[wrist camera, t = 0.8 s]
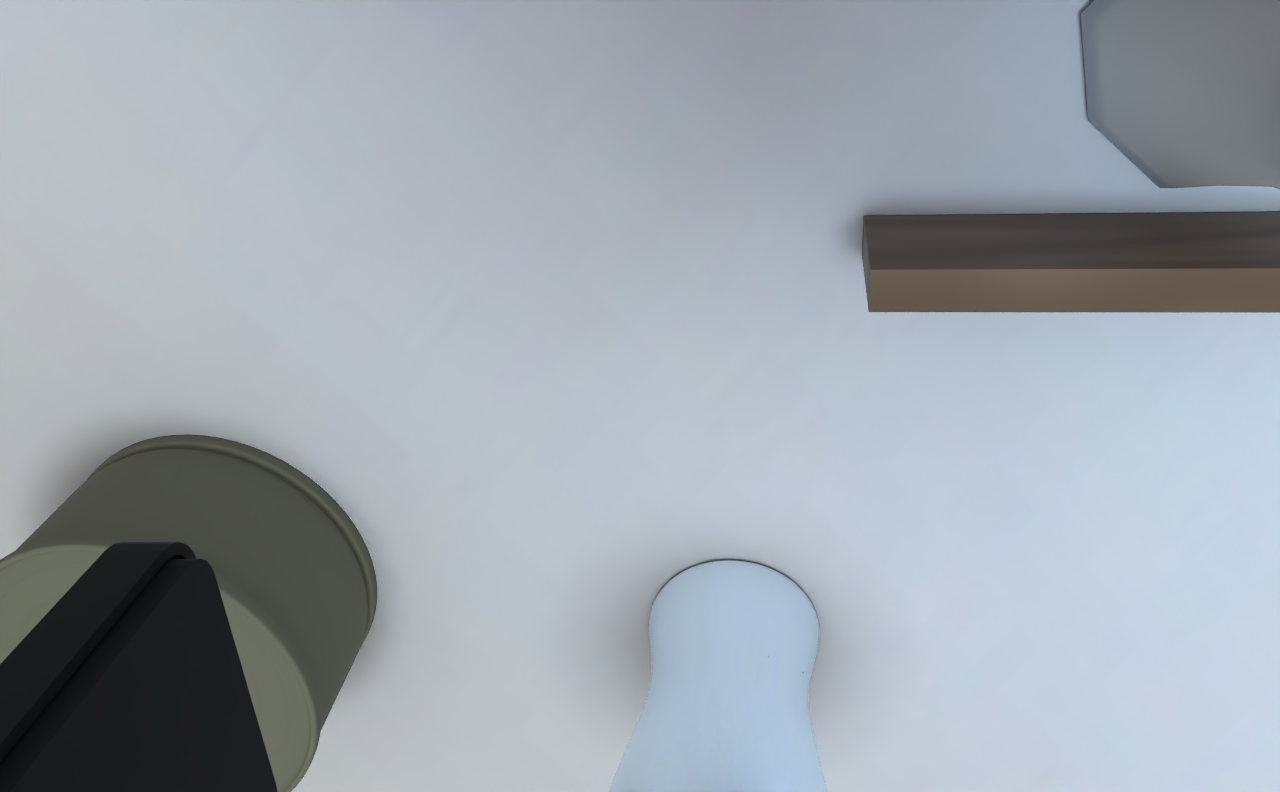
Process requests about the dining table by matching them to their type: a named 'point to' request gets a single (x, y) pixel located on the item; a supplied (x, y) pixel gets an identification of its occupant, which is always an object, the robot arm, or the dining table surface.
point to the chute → (1073, 262)
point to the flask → (1187, 87)
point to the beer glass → (727, 687)
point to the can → (223, 570)
